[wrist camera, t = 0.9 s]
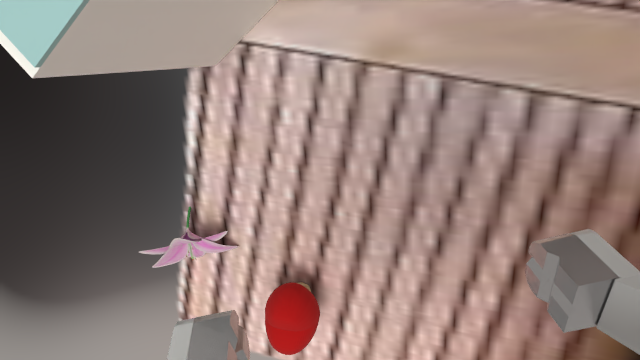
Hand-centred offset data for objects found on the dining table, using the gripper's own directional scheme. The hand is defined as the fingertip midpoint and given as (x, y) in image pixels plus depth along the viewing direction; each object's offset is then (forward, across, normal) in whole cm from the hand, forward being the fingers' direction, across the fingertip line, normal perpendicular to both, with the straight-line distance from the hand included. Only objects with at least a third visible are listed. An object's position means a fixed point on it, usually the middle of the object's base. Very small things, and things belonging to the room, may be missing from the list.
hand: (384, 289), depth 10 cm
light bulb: (+31, +6, +34) cm, 47 cm away
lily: (+38, +18, +26) cm, 49 cm away
